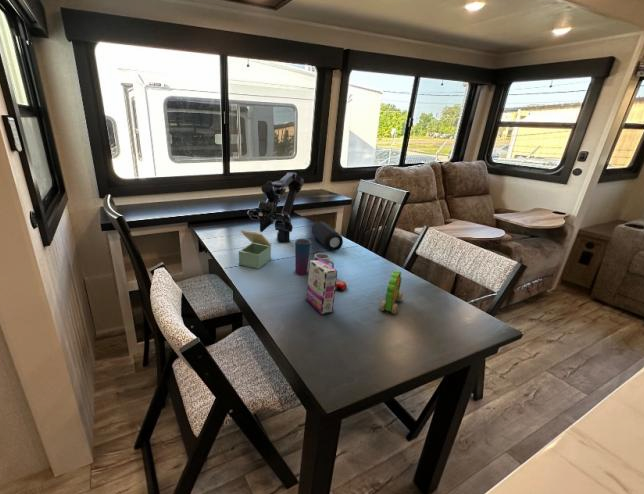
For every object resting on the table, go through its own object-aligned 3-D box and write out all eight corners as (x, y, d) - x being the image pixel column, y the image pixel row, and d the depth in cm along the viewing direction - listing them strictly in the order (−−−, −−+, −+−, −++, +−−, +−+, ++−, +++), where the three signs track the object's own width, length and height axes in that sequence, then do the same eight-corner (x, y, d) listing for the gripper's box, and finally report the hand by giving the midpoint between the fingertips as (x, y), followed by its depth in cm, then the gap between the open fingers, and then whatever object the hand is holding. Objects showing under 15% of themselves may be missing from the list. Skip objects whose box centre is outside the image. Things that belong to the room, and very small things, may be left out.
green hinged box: (258, 268, 142) (258, 255, 140) (238, 264, 146) (238, 251, 144) (270, 259, 153) (271, 246, 150) (251, 255, 157) (251, 242, 154)
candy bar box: (333, 312, 110) (338, 270, 104) (321, 315, 108) (325, 272, 102) (317, 297, 120) (320, 258, 114) (306, 299, 118) (308, 260, 112)
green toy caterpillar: (387, 295, 122) (394, 260, 116) (402, 299, 119) (409, 263, 114) (377, 314, 109) (384, 276, 104) (393, 319, 107) (401, 280, 101)
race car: (348, 287, 128) (349, 278, 126) (344, 292, 123) (345, 284, 122) (317, 279, 133) (318, 271, 132) (313, 285, 129) (313, 276, 127)
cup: (310, 271, 141) (313, 240, 136) (305, 277, 136) (307, 245, 130) (296, 268, 144) (298, 237, 138) (291, 273, 138) (292, 242, 132)
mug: (310, 269, 143) (311, 255, 141) (319, 264, 148) (320, 252, 145) (329, 276, 137) (330, 262, 134) (337, 271, 141) (338, 258, 139)
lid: (261, 235, 138) (261, 234, 138) (240, 231, 142) (241, 230, 142) (270, 246, 150) (271, 244, 150) (251, 242, 154) (252, 241, 154)
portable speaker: (343, 251, 164) (345, 233, 160) (325, 252, 162) (327, 234, 158) (325, 235, 187) (326, 219, 183) (309, 236, 185) (310, 220, 181)
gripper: (249, 193, 151) (237, 220, 146) (284, 197, 144) (273, 226, 139) (256, 205, 161) (246, 231, 156) (290, 210, 153) (280, 237, 148)
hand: (260, 231), depth 149 cm, fingers closed
